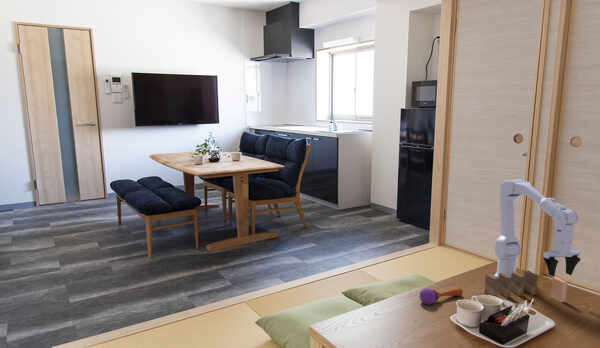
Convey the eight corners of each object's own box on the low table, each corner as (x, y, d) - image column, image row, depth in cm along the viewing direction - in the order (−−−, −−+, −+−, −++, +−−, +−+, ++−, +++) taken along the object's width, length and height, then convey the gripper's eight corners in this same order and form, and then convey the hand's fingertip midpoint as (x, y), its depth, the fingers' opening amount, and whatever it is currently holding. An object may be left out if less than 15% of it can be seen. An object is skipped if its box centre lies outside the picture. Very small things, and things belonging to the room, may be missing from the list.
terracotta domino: (555, 296, 165) (556, 277, 164) (565, 301, 160) (567, 282, 159) (550, 296, 165) (552, 277, 164) (560, 302, 160) (562, 282, 159)
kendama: (467, 289, 162) (429, 294, 153) (463, 302, 164) (425, 308, 155) (455, 281, 167) (418, 286, 158) (452, 293, 169) (414, 299, 160)
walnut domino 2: (501, 291, 169) (503, 272, 168) (510, 296, 165) (511, 277, 163) (497, 291, 169) (498, 273, 168) (505, 297, 164) (507, 277, 163)
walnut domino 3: (514, 290, 171) (515, 271, 169) (523, 295, 166) (524, 276, 165) (510, 290, 170) (511, 272, 169) (518, 295, 165) (520, 276, 164)
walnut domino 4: (527, 289, 172) (528, 270, 171) (536, 294, 167) (538, 275, 166) (522, 289, 171) (524, 271, 170) (531, 294, 166) (533, 275, 165)
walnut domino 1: (488, 292, 168) (490, 273, 167) (496, 297, 163) (498, 278, 162) (484, 293, 168) (485, 274, 167) (492, 298, 163) (493, 278, 162)
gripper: (554, 244, 153) (551, 279, 155) (588, 242, 156) (585, 277, 158) (540, 239, 160) (537, 273, 162) (573, 237, 163) (570, 270, 164)
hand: (560, 274), depth 160 cm, fingers open, 7 cm apart
